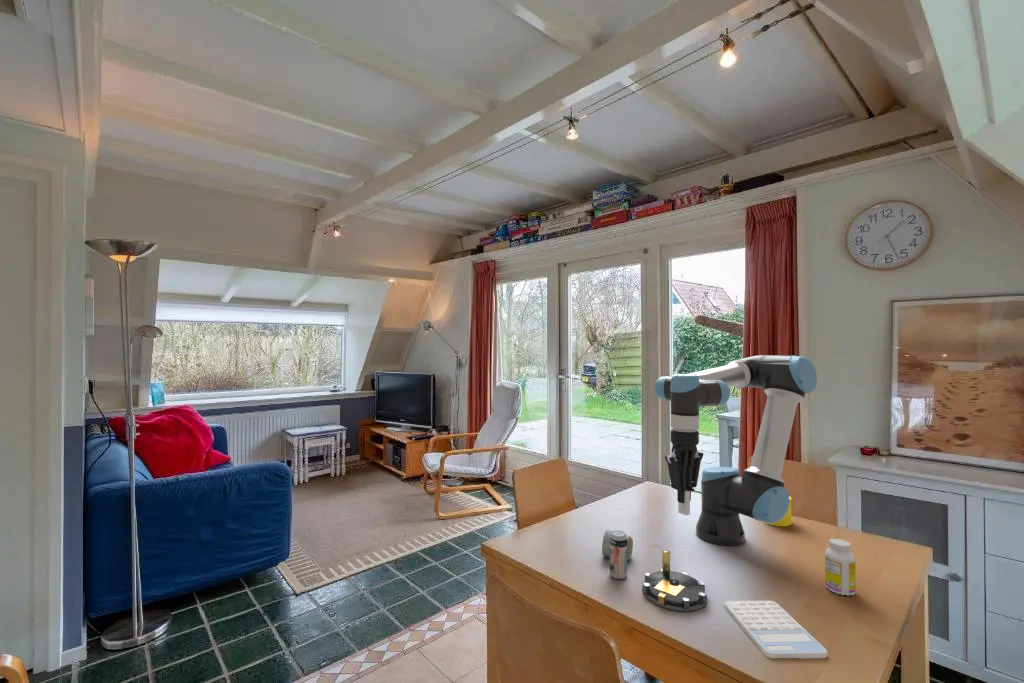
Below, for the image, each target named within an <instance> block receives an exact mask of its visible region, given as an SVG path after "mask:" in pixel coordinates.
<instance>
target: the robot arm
mask: <svg viewBox="0 0 1024 683" xmlns="http://www.w3.org/2000/svg"><path fill="white" fill-rule="evenodd" d="M817 376H818V375H817V370H816V368H815V366H814V363H813V362H812V361H811V360H810V359H809V358H808V357H806V356H799V355H794V354H793V355H792V354H791V355H778V354H777V355H776V354H775V355H774V354H773V355H772V354H771V355H770V354H769V355H768V354H762V355H761V354H759V355H758V354H757V355H753V356H748V357H744V358H740V359H736V360H732V361H729V362H728V363H727V365H723V366H719V367H714V368H713V367H712V368H708V369H705V370H699V371H695V372H691V373H676V374H673V375H672V376H669V375H668V376H660V377H659V378H658V379H656V380H655V383H654V393H655V395H656V397H658V398H659V399H660V400H665V401H667V402H670V428H671V429H670V434H669V436H670V438H669V440H670V442H671V444H672V446H671V453H670V454H669V455H665V456H664V460H665V462H666V463H667V469H668V470H667V471H668V474H669V479H670V480H669V481H670V486H671V488H672V489H673V490H676V492H677V494H676V495H677V496H676V497H677V502H678V505H677V506H678V508H677V510H678V513H679V514H681V515H684V516H691V499H692V492H694V491H695V489H696V488H697V486H698V481H699V474H700V471H701V470H700V469H701V463H702V459H703V458H704V453H703V452H700V451H698V447H697V446H698V445H699V442H700V432H699V429H700V407H701V408H704V407H705V408H706V407H717V406H721V405H724V404H726V403H728V401H729V400H730V399H729V398H730V395H731V393H730V392H731V391H730V389H731V388H736V389H737V388H738V389H742V388H757V389H763V392H764V393H765V395H766V397H767V398H766V403H765V405H764V410H763V414H762V418H761V422H760V426H759V427H760V428H759V431H758V435H757V439H756V444H755V446H754V451H753V454H752V455H753V456H752V458H751V459H752V460H751V463H750V467H747V468H745V469H743V474H742V475H740V470H739V469H738V468H735V467H731V466H729V467H728V466H711V467H706V468H704V469H703V470H702V473H701V480H700V482H701V484H700V486H701V490H700V491H701V511H700V514H699V517H698V520H697V523H696V527H695V534H696V535H697V537H699V539H700V538H701V539H702V540H704V541H706V542H708V543H712V544H716V545H719V546H721V545H722V546H740V545H742V544H744V543H745V541H746V536H745V535H746V534H745V530H744V527H743V525H742V521H741V518H740V515H741V516H742V515H743V516H746V517H749V518H751V519H754V520H756V521H759V522H762V521H763V522H766V523H776V522H778V521H779V520H780V519H782V518H783V517H784V516H785V514H786V512H787V510H788V508H789V504H790V498H789V496H790V493H789V491H788V490H787V489H786V488H785V484H786V482H785V480H784V479H783V478H782V472H783V467H784V463H785V458H786V456H787V454H786V453H787V449H788V444H789V442H790V437H791V432H792V428H793V424H794V419H795V416H796V410H797V407H798V404H799V403H801V402H803V401H804V400H805V396H806V394H810V393H813V392H814V390H815V389H816V387H817V383H818V377H817ZM763 522H762V523H763Z"/></svg>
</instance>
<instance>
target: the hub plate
mask: <svg viewBox="0 0 1024 683" xmlns="http://www.w3.org/2000/svg"><path fill="white" fill-rule="evenodd" d="M644 583H646V582H645V581H644ZM644 583H643V584H642V593H643V596H644V597H645V598H646V599H647V600H648V601H649V602H650V603H652V604H654V605H656V606H658V607H660V608H662V609H665V610H668V611H672V612H680V613H689V612H690V613H691V612H696V611H699V610H701V609H703V608H705V607H706V605H707V604H708V596H707V594H706V591H705V592H703V593H705V594H706V602H705V603H704V604H702V603H699V604H697V605H694V606H690V609H684V608H683V607H679V606H673V605H668V604H664V605H662V604H660V603H658V600H656V599H655V598H653V597H652V596H651V595H650V594H645V592H644Z"/></svg>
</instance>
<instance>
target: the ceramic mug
mask: <svg viewBox="0 0 1024 683" xmlns="http://www.w3.org/2000/svg"><path fill="white" fill-rule="evenodd" d="M613 531H614V530H610V529H607V530H606V531H605V532H604V534H603V538H602V543H601V544H602V545H601V548H602V549H601V552H602V553H601V554H602V556H603V557H607V558H610V535H611V533H612V532H613ZM626 536H627V561H629V560H631V558H632V554H633V547H634V540H633V538H632V536H630V535H628V534H626Z"/></svg>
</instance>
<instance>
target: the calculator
mask: <svg viewBox="0 0 1024 683" xmlns="http://www.w3.org/2000/svg"><path fill="white" fill-rule="evenodd" d="M723 606H724V609H725V610H726V612H728V613H729V615H730V616H731V617H732V618H733V619H734V621H735V622H736V623H737V625H738V626H739V627H740V628H741V629H742V630H743V631H744V633H745V634H746V635H747V636H748V637H749V638H750V640H751V641H752V642H753V643H754V644H755V646H756V647H757V648H758V649H759V650H760V652H762V654H763V655H764V656H765V657H766V658H768V657H769V659H772V658H800V659H825V658H826V657H828V656H829V654H828V651H827V649H826V648H825V647H824V646H823V645H822V644H821V643H820V642H819V640H817V639H816V638H814V637H813V636H812V634H811V633H810V632H808V631H807V630H806V629H805V628H804V627H803V626H802V625H801V624H800V623H799V622H797V621H796V619H794V618H793V617H792V616H791V615H790V614H789V613H788V612H787V611H786V610H785V609H784V608H783V607H781V605H780V604H779V603H777V602H776V601H774V600H728V601H727V600H726V601H724V603H723Z"/></svg>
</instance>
